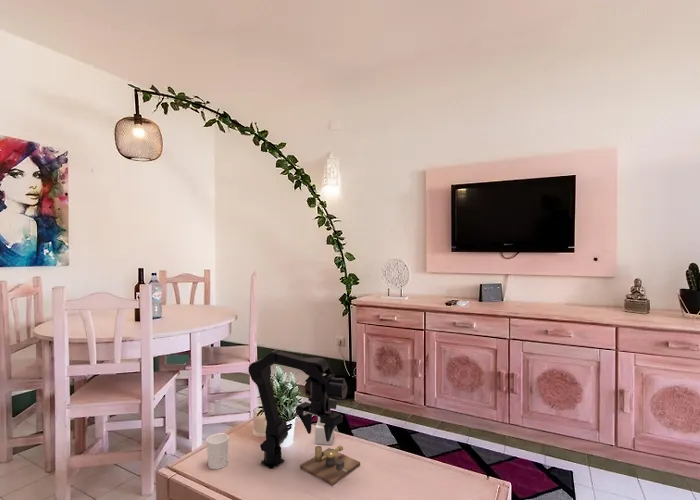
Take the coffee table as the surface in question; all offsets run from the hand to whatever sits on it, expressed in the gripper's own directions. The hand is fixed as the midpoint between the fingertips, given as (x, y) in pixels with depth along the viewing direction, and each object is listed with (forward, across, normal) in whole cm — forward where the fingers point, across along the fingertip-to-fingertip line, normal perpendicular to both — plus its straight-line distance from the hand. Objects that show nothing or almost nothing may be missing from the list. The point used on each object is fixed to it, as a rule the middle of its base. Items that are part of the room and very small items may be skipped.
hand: (318, 437), depth 138 cm
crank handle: (+9, -1, -5) cm, 10 cm away
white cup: (+13, +34, +20) cm, 41 cm away
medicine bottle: (+13, +14, -19) cm, 27 cm away
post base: (+13, -1, -6) cm, 14 cm away
